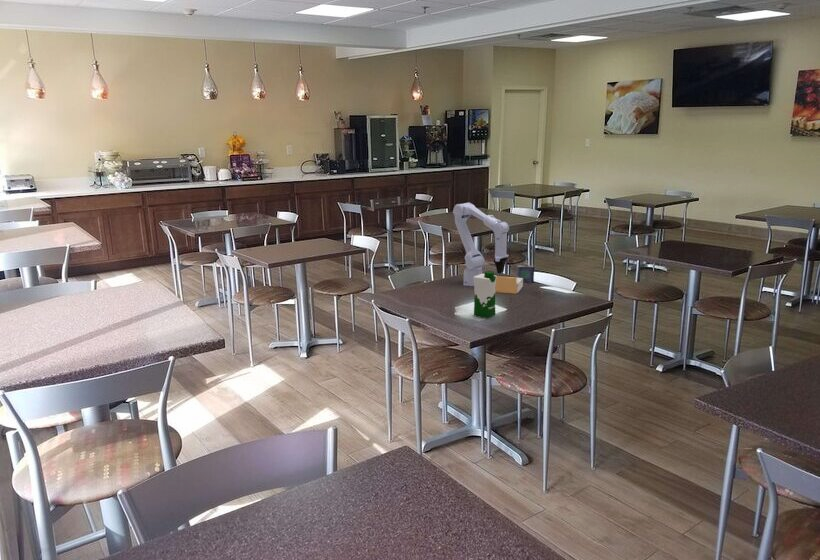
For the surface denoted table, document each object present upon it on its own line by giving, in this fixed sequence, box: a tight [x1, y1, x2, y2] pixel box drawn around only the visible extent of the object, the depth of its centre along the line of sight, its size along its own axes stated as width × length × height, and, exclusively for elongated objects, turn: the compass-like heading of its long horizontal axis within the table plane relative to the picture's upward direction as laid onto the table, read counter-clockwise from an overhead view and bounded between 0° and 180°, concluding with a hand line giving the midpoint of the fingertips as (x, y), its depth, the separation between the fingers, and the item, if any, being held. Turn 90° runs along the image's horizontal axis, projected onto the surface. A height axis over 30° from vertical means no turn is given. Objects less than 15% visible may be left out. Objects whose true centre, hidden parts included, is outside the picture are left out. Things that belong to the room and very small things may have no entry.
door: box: [495, 275, 517, 294], centre depth 303 cm, size 19×1×8 cm, turn 69°
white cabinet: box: [499, 276, 524, 294], centre depth 310 cm, size 20×14×5 cm
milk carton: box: [473, 270, 498, 319], centre depth 267 cm, size 9×9×20 cm
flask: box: [516, 262, 535, 284], centre depth 322 cm, size 9×3×11 cm, turn 76°
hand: (500, 272), depth 307 cm, fingers open, 3 cm apart
